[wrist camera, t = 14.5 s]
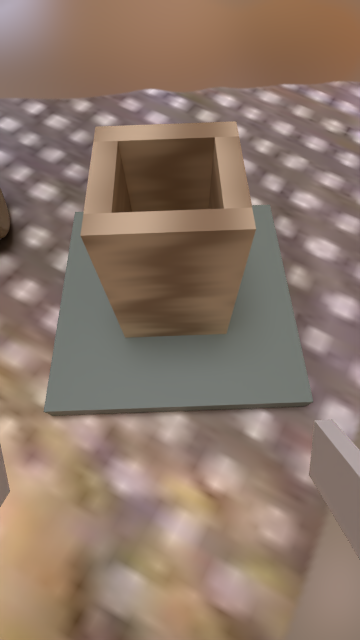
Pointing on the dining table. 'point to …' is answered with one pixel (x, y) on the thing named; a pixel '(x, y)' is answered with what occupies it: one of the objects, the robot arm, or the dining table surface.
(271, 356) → the post stand
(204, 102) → the dining table surface
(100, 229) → the oak collar
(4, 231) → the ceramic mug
